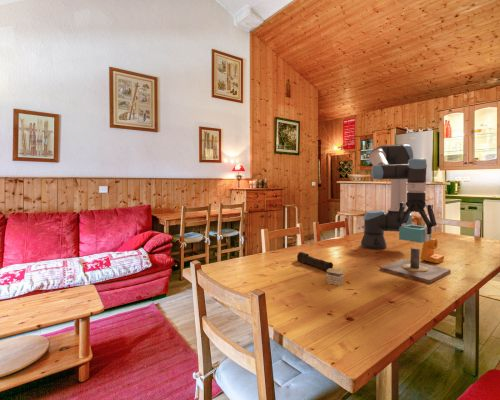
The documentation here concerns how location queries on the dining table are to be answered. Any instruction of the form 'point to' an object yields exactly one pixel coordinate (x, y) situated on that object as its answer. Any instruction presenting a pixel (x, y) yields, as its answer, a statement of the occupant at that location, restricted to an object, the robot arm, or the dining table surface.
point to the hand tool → (313, 261)
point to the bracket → (431, 252)
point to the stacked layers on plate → (334, 276)
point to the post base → (416, 275)
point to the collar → (413, 233)
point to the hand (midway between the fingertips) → (414, 239)
